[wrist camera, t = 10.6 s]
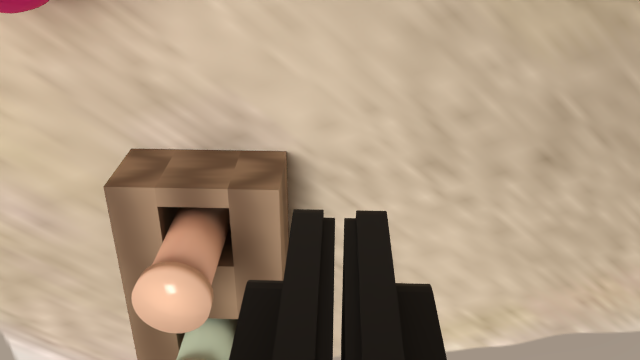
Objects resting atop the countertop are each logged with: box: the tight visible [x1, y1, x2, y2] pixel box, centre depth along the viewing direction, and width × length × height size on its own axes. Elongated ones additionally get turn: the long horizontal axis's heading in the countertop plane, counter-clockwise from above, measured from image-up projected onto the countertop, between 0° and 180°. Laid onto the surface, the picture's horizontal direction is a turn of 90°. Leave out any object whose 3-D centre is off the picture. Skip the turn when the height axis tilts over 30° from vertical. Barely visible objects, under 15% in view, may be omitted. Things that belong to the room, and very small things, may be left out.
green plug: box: [176, 318, 238, 360], centre depth 47 cm, size 5×5×10 cm
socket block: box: [104, 149, 289, 360], centre depth 47 cm, size 12×18×6 cm, turn 0°
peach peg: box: [131, 207, 230, 333], centre depth 41 cm, size 5×5×10 cm
